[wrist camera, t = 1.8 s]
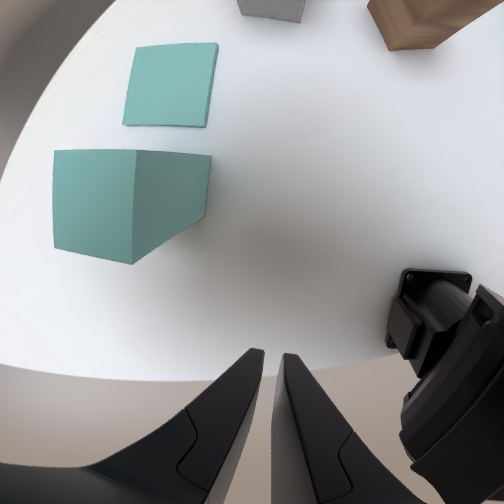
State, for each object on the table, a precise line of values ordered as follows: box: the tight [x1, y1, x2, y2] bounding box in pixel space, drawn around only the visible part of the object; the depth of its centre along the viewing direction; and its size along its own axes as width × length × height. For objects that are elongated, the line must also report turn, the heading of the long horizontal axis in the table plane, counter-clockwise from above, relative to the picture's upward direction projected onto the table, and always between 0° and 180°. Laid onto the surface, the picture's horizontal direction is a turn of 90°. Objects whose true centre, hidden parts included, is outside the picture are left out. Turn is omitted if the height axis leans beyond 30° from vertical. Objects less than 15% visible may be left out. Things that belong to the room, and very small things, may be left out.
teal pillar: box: [53, 149, 211, 265], centre depth 14 cm, size 4×4×10 cm
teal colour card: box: [122, 43, 218, 127], centre depth 17 cm, size 6×6×1 cm
